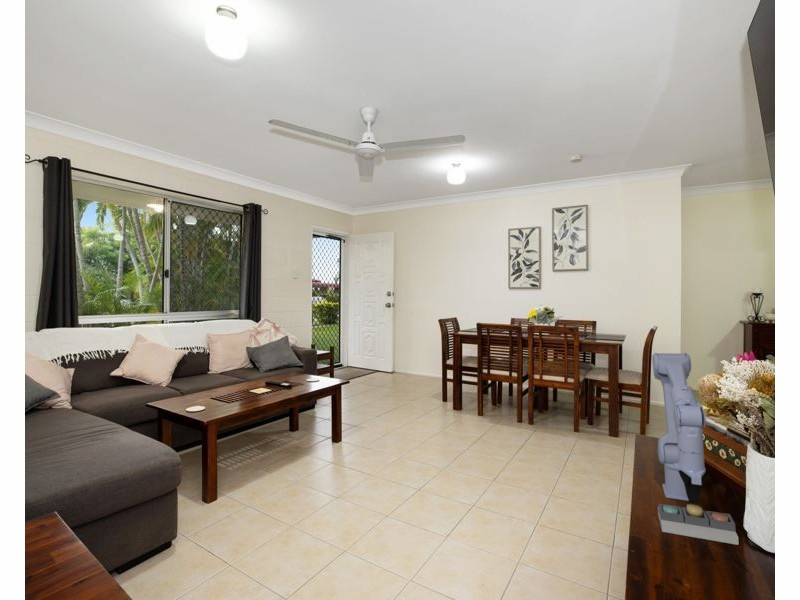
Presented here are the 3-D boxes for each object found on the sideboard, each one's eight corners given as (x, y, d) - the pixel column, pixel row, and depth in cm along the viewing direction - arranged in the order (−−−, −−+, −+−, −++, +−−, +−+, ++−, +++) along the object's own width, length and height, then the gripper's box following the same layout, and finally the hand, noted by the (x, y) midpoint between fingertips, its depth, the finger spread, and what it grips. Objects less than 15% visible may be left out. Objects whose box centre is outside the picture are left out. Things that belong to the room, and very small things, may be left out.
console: (658, 513, 119) (657, 499, 119) (728, 524, 112) (727, 509, 112) (662, 531, 110) (661, 516, 110) (738, 544, 103) (737, 528, 103)
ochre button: (686, 510, 114) (685, 503, 114) (701, 512, 112) (700, 505, 112) (688, 516, 111) (687, 509, 111) (703, 518, 109) (703, 511, 109)
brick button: (710, 518, 111) (710, 511, 111) (726, 520, 110) (726, 513, 110) (713, 524, 108) (713, 517, 108) (730, 527, 107) (729, 520, 107)
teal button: (662, 511, 116) (662, 504, 116) (677, 513, 115) (676, 506, 115) (664, 516, 113) (663, 509, 113) (679, 519, 112) (678, 512, 112)
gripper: (669, 439, 120) (671, 486, 120) (676, 457, 107) (679, 510, 107) (699, 442, 117) (701, 490, 117) (710, 461, 104) (713, 515, 104)
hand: (693, 500), depth 111 cm, fingers closed
